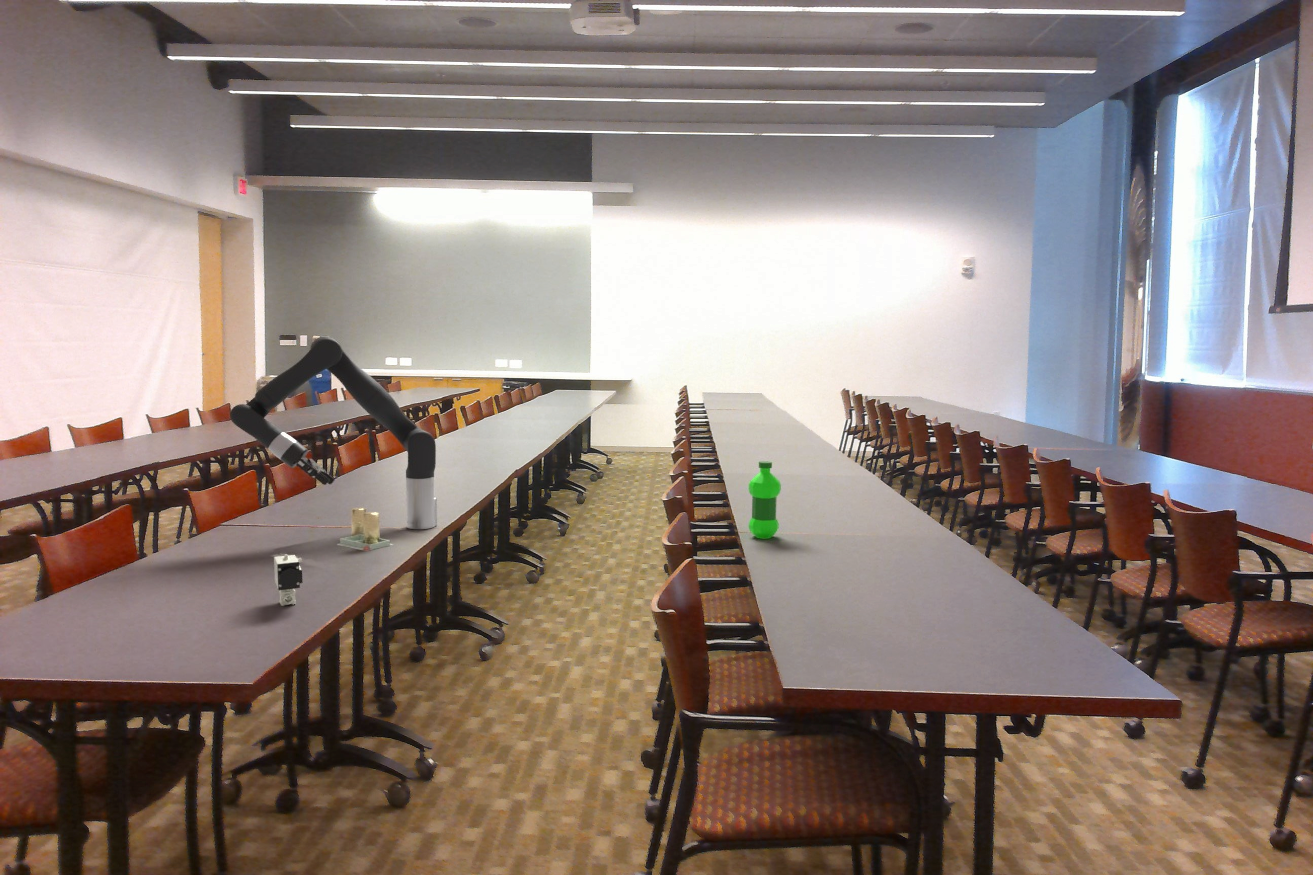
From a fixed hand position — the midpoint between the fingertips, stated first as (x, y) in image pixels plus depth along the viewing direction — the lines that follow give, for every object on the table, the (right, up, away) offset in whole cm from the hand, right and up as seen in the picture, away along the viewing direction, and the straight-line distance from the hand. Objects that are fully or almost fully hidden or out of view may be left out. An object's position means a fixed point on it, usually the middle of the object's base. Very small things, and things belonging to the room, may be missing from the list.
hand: (330, 482), depth 269 cm
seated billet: (+17, -19, -11) cm, 27 cm away
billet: (+8, -18, +3) cm, 20 cm away
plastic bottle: (+138, -19, +14) cm, 140 cm away
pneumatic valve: (+14, -26, -63) cm, 69 cm away
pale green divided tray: (+14, -20, -9) cm, 26 cm away
